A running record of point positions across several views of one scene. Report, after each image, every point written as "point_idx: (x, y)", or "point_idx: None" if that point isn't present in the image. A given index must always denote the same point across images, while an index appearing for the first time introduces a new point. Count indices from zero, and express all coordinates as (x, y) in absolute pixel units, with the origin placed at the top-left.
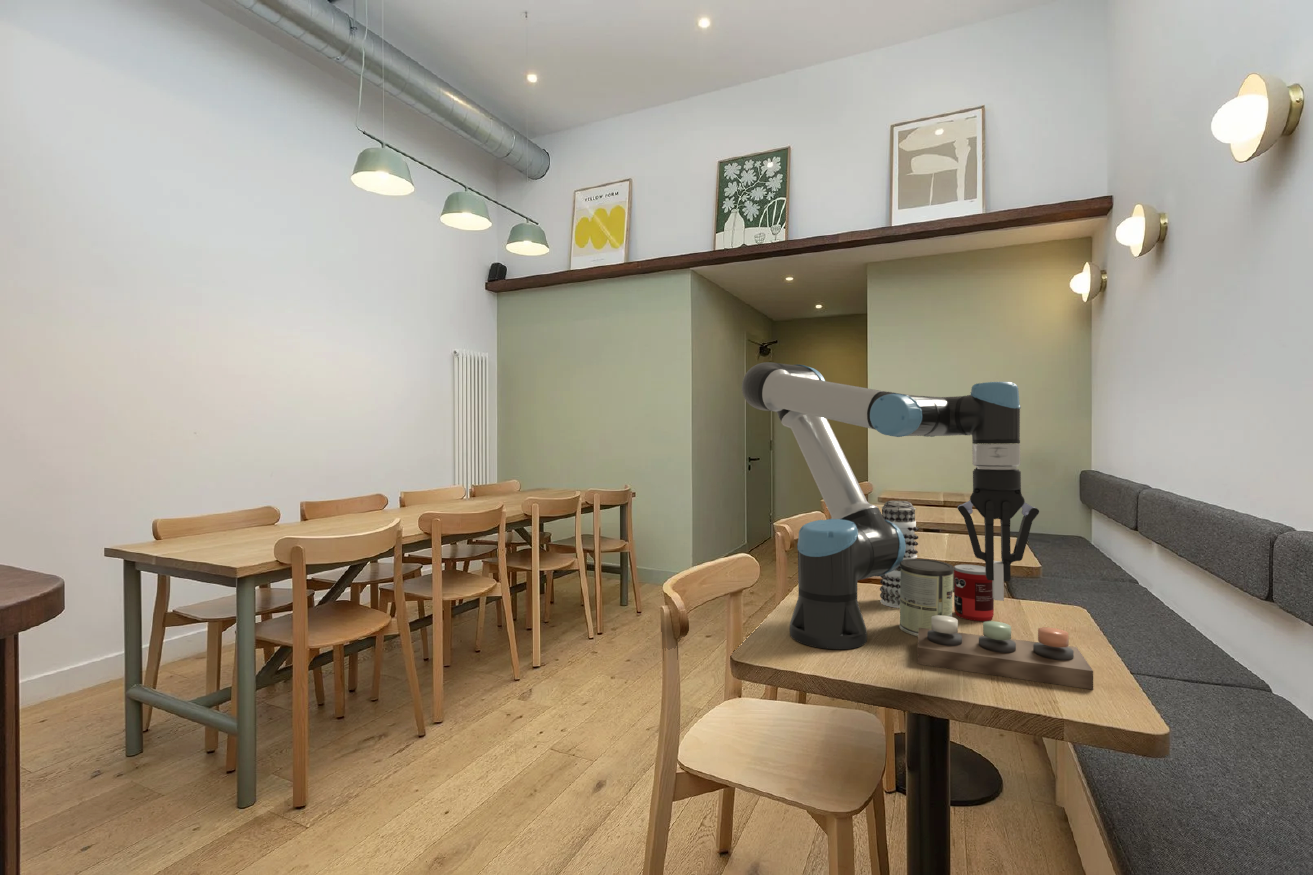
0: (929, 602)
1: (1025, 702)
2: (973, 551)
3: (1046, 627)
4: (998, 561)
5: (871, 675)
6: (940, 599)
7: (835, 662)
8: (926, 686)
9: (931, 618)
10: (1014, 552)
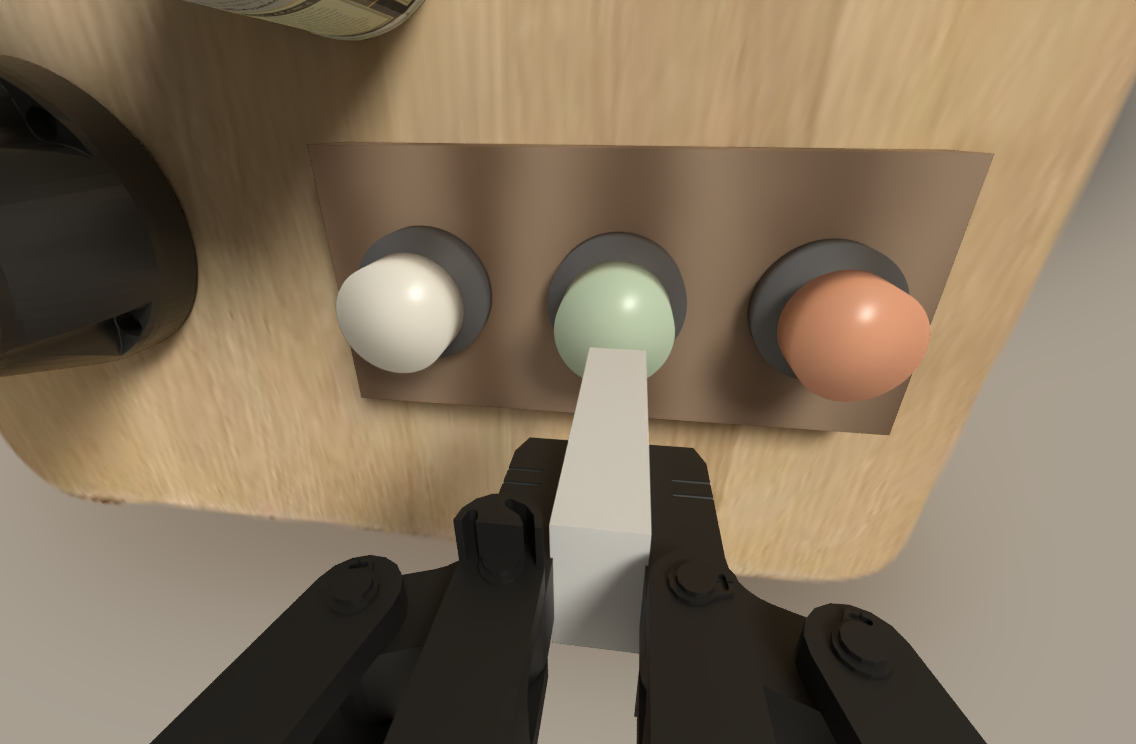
0: (251, 6)
1: None
2: (297, 605)
3: (853, 291)
4: (616, 540)
5: (309, 480)
6: None
7: (204, 430)
8: (433, 502)
9: (340, 318)
10: (833, 719)
